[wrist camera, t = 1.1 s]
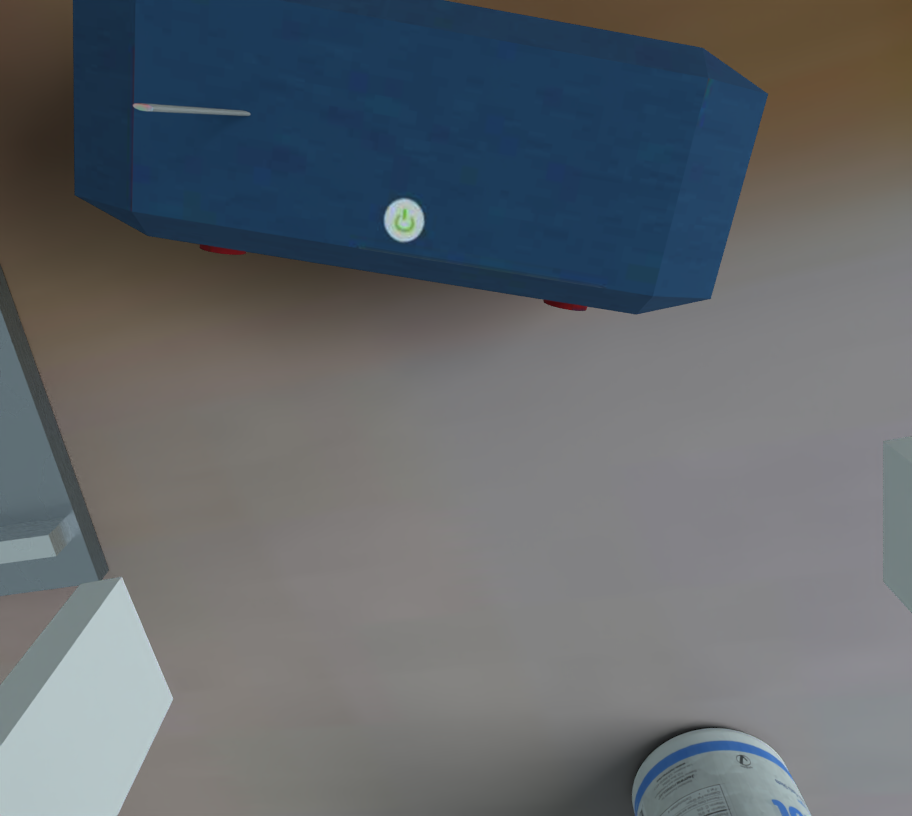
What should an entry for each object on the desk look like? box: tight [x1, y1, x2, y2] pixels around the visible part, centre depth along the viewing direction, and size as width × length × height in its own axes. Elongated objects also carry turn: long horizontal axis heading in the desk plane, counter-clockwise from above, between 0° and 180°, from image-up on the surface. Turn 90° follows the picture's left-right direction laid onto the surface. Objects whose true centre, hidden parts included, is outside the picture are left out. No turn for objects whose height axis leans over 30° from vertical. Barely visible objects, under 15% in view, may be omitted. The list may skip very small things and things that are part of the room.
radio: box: [73, 0, 768, 314], centre depth 25 cm, size 21×9×20 cm, turn 81°
